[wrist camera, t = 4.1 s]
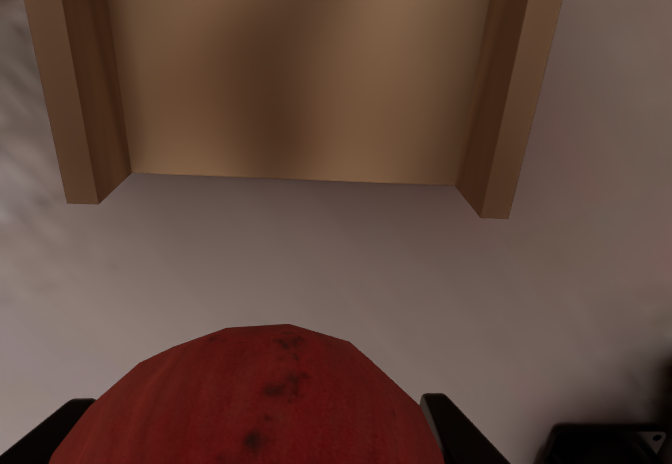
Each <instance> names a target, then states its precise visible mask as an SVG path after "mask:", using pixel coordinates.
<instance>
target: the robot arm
mask: <svg viewBox="0 0 672 464" xmlns="http://www.w3.org/2000/svg"><path fill="white" fill-rule="evenodd" d="M95 401H96V399H93V398H80V399H72V400H70V401H68V402H67V403H65V404H64V405H63V406H62V407H60V408H59V409H58V410H57V411H55V412H54V413H53V414H52V415H50V416H49V417H48V418H47V419H45V420H44V421H43V422H42V423H40V424H39V425H38V426H37V427H35V428H34V429H33V430H32V431H30V432H29V433H28V434H27V435H25V436H24V437H23V438H22V439H20V440H19V441H18V442H17V443H15V444H14V445H13V446H12V447H10V448H9V449H8V450H7V451H5V452H4V453H3V454H2V455H0V464H48V463H49V461H50V459H51V456H52V454H53V453H54V451H55V450H56V449H57V447H58V446H59V445H60V444H61V442H62V441H63V440H64V438H65V437H66V436H67V435H68V433H69V432H70V431H71V429H72V428H73V427H74V426H75V424H76V423H77V422H78V420H79V419H80V418H81V417H82V415H83V414H84V413H85V411H86V410H87V409H88V408H89V406H90V405H92V404H93V403H94V402H95ZM420 407H421V409H422V411H423V413H424V415H425V418H426V420H427V422H428V424H429V426H430V428H431V431H432V433H433V435H434V437H435V439H436V442H437V444H438V446H439V448H440V450H441V452H442V455H443V458H444V463H445V464H510V462H509V461H508V460H507V459H506V458H505V457H504V456H503V455H502V454H501V453H500V452H499V451H498V450H497V449H496V448H495V447H494V445H493V444H492V443H491V442H490V441H489V440H488V439H487V438H486V437H485V436H484V435H483V434H482V433H481V432H480V431H479V430H478V429H477V427H476V426H475V425H474V424H473V423H472V422H471V421H470V420H469V419H468V418H467V417H466V416H465V415H464V414H463V413H462V412H461V410H460V409H459V408H458V407H457V406H456V405H455V404H454V403H453V402H452V401H451V400H450V399H449V398H448V397H447V396H446V395H445V394H442V393H426V394H423V395H422V397H421V401H420ZM665 438H666V434H665V432H664V431H663V430H662V429H661V428H660V427H659V426H559V427H556V428H555V429H554V430H553V432H552V434H551V437H550V439H549V442H548V444H547V447H546V450H545V452H544V455H543V458H542V460H541V463H540V464H664V463H663V462H662V461H661V459H660V458H659V457H658V456H657V453H658V451H659V449H660V447H661V445H662V443H663V442H664V440H665Z"/></svg>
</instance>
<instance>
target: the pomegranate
mask: <svg viewBox="0 0 672 464" xmlns="http://www.w3.org/2000/svg"><path fill="white" fill-rule="evenodd" d="M48 464H445V463H444V458H443V455H442V452H441V450H440V448H439V446H438V444H437V442H436V439H435V437H434V435H433V433H432V431H431V428H430V426H429V424H428V422H427V420H426V418H425V415H424V413H423V411H422V409H421V407H420V405H418V404H417V403H416V402H415V401H414V400H413V399H412V398H411V397H410V396H409V395H408V394H407V393H406V392H404V391H403V390H402V389H401V388H400V387H399V386H398V385H397V384H396V383H395V382H394V381H393V380H391V379H390V378H389V377H388V376H387V375H386V374H385V373H384V372H383V371H382V370H381V369H380V368H378V367H377V366H376V365H375V364H374V363H373V362H372V361H371V360H370V359H369V358H367V357H366V356H365V355H364V354H363V353H362V352H361V351H359V350H358V349H357V348H356V347H355V346H354V345H353V344H351V343H350V342H349V341H345V340H342V339H338V338H335V337H332V336H328V335H325V334H321V333H318V332H315V331H311V330H308V329H304V328H301V327H298V326H294V325H291V324H280V325H264V326H248V327H232V328H225V329H222V330H219V331H216V332H214V333H211V334H208V335H205V336H202V337H200V338H197V339H194V340H191V341H188V342H186V343H183V344H180V345H177V346H174V347H172V348H170V349H168V350H166V351H164V352H161V353H159V354H157V355H155V356H153V357H151V358H149V359H147V360H145V361H142V362H140V363H139V364H138V365H136V366H135V367H134V368H133V369H132V370H131V371H130V372H128V373H127V374H126V375H125V376H124V377H123V378H121V379H120V380H119V381H118V382H117V383H116V384H115V385H113V386H112V387H111V388H110V389H109V390H108V391H107V392H105V393H104V394H103V395H102V396H101V397H100V398H98V399H97V400H96V401H95V402H94V403H93V404H92V405H90V406H89V408H88V409H87V410H86V411H85V413H84V414H83V415H82V417H81V418H80V419H79V420H78V422H77V423H76V424H75V426H74V427H73V428H72V429H71V431H70V432H69V433H68V435H67V436H66V437H65V438H64V440H63V441H62V442H61V444H60V445H59V446H58V447H57V449H56V450H55V451H54V453H53V454H52V456H51V459H50V461H49V463H48Z"/></svg>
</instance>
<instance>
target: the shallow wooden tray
mask: <svg viewBox="0 0 672 464" xmlns="http://www.w3.org/2000/svg"><path fill="white" fill-rule="evenodd" d="M24 2H25V7H26V12H27V16H28V21H29V26H30V31H31V35H32V40H33V45H34V50H35V54H36V59H37V64H38V68H39V73H40V78H41V83H42V87H43V92H44V97H45V101H46V106H47V111H48V116H49V120H50V125H51V130H52V134H53V139H54V144H55V149H56V153H57V158H58V163H59V167H60V172H61V177H62V182H63V186H64V191H65V196H66V200H67V203H71V204H99V203H101V202H102V201H103V200H104V199H105V198H106V197H107V196H108V195H109V194H110V193H111V192H112V191H113V190H114V189H115V188H116V187H117V186H118V185H119V184H120V183H121V182H122V181H124V180H125V179H126V178H127V177H128V176H129V175H130V174H131V173H152V174H177V175H202V176H227V177H252V178H277V179H302V180H326V181H351V182H376V183H401V184H426V185H451V186H456V187H457V189H458V190H459V191H460V192H461V194H462V195H463V196H464V198H465V199H466V200H467V201H468V203H469V204H470V205H471V206H472V208H473V209H474V210H475V211H476V213H477V214H478V215H479V217H480V218H496V219H508V218H509V214H510V210H511V206H512V202H513V198H514V194H515V190H516V186H517V181H518V177H519V173H520V169H521V165H522V161H523V157H524V153H525V149H526V145H527V141H528V137H529V133H530V129H531V125H532V121H533V117H534V113H535V109H536V105H537V101H538V97H539V93H540V89H541V85H542V81H543V77H544V72H545V68H546V64H547V60H548V56H549V52H550V48H551V44H552V40H553V36H554V32H555V28H556V24H557V20H558V16H559V12H560V8H561V4H562V0H24Z"/></svg>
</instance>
